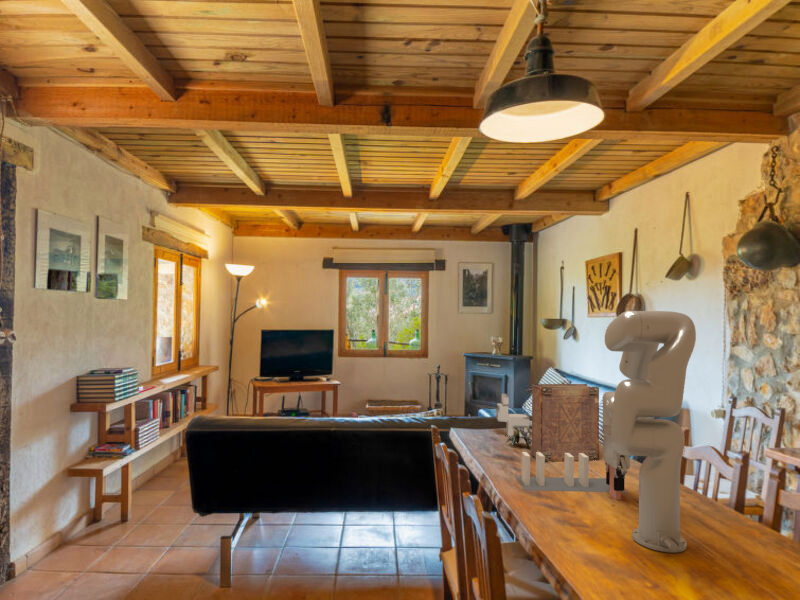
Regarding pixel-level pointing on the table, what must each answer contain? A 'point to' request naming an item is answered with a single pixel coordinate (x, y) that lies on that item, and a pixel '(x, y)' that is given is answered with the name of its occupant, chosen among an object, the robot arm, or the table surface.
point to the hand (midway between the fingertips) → (615, 486)
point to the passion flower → (520, 436)
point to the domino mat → (560, 485)
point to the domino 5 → (611, 484)
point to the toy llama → (511, 417)
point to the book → (565, 421)
